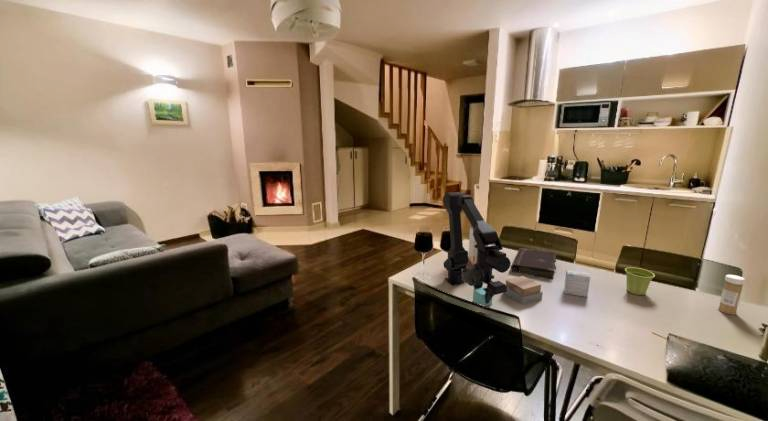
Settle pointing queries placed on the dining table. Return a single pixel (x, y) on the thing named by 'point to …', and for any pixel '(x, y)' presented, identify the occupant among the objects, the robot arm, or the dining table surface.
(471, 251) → the cracker box
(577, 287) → the medicine box
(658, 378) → the dining table surface
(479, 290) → the teal cube
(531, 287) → the tan square block
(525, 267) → the diary
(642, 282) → the plant pot
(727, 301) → the sprinkles bottle
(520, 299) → the grey square slab
